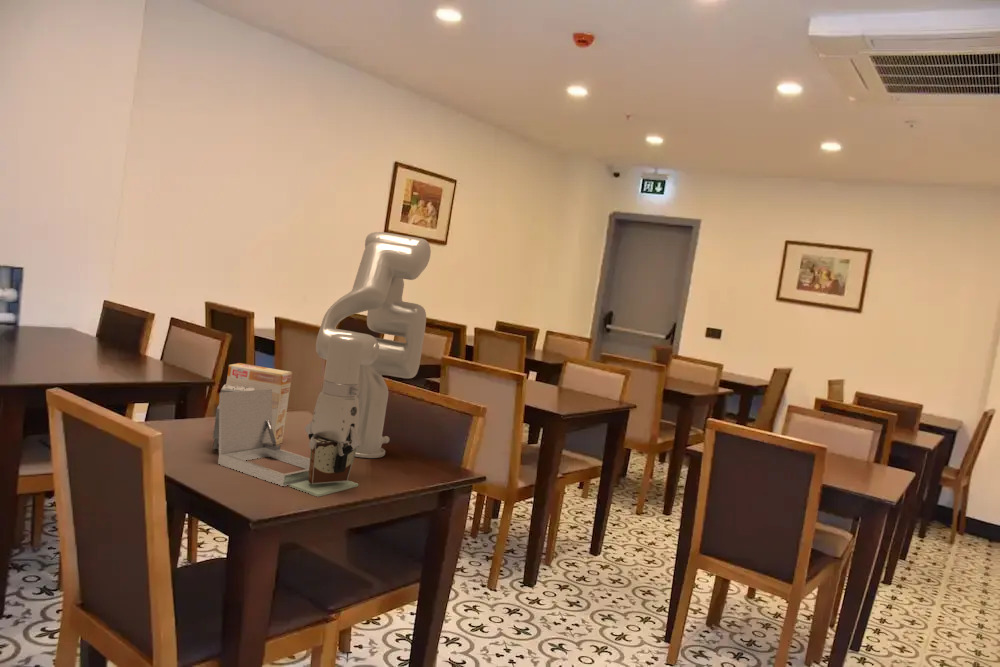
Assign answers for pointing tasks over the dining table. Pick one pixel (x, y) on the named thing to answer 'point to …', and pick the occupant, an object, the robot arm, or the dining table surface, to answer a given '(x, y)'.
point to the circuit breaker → (216, 428)
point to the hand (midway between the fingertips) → (327, 467)
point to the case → (254, 437)
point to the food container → (326, 461)
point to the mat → (323, 487)
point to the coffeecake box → (263, 381)
